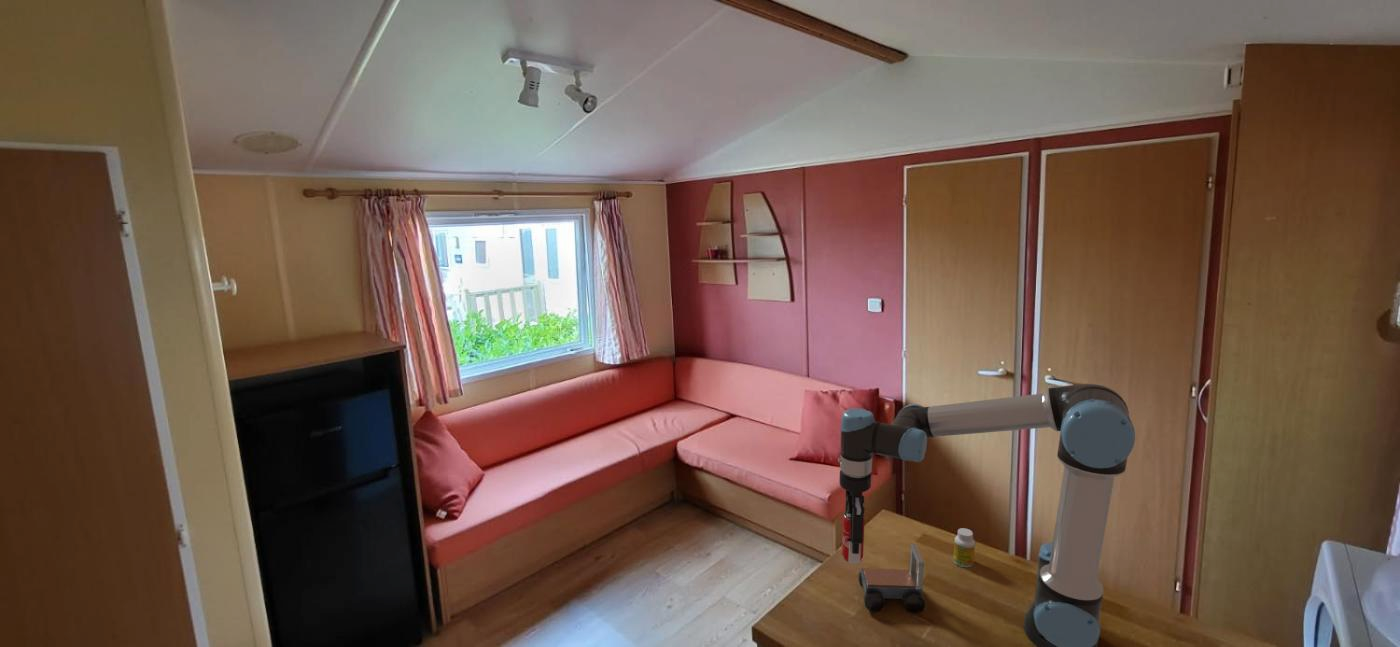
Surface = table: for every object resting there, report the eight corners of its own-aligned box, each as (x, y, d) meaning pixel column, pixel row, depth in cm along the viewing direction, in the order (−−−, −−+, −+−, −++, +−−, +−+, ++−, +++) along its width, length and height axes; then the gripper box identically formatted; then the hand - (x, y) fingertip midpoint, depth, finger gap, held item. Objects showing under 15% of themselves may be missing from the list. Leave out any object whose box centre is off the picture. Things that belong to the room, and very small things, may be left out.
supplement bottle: (954, 566, 173) (956, 535, 171) (952, 555, 178) (954, 525, 176) (974, 569, 171) (976, 538, 169) (972, 558, 176) (974, 528, 174)
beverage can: (863, 565, 151) (865, 522, 148) (842, 563, 152) (843, 520, 149) (862, 553, 156) (864, 510, 153) (841, 551, 157) (843, 509, 154)
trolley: (914, 586, 165) (916, 540, 162) (924, 613, 154) (927, 565, 151) (857, 584, 166) (859, 539, 163) (864, 611, 156) (866, 563, 153)
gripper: (835, 455, 158) (833, 535, 163) (845, 489, 140) (842, 577, 145) (864, 455, 157) (861, 536, 162) (878, 489, 140) (874, 578, 145)
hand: (852, 555), depth 154 cm, fingers closed on beverage can, 5 cm apart
